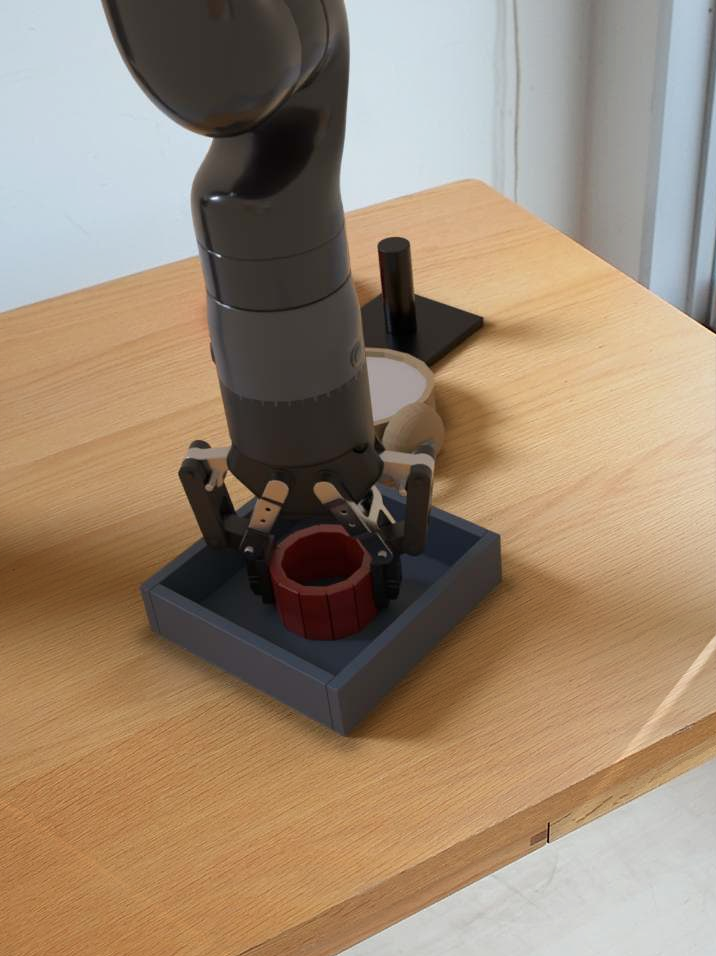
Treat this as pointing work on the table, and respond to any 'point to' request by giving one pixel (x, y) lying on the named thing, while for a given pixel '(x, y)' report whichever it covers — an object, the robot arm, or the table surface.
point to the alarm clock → (403, 402)
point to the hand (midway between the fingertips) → (328, 596)
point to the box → (338, 661)
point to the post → (411, 312)
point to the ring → (322, 607)
